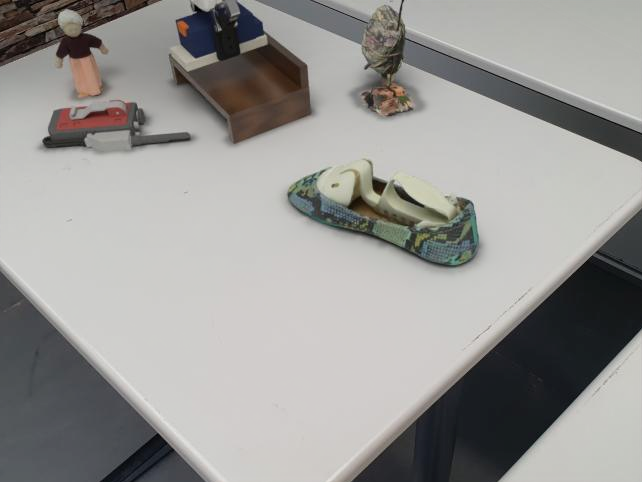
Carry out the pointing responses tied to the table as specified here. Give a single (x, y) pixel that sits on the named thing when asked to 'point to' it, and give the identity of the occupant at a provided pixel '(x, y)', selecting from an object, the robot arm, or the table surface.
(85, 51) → the grandmother figurine
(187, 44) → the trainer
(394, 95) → the plant with pod
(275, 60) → the shoe shelf
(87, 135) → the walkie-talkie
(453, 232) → the ballet flat
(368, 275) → the table surface
